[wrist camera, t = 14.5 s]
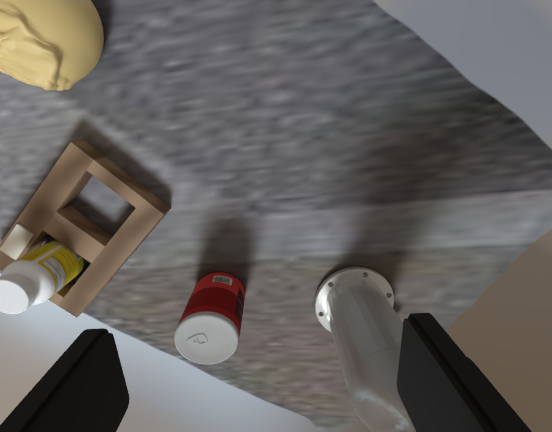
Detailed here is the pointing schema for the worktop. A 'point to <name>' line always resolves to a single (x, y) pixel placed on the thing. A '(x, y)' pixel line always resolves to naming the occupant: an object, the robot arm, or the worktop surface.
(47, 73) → the sculpture
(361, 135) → the worktop surface
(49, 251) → the pill bottle
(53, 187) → the socket rack
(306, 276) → the worktop surface
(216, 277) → the canned food
